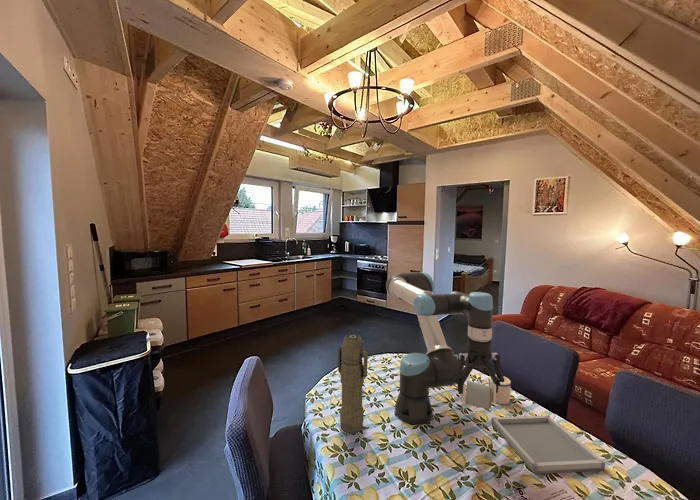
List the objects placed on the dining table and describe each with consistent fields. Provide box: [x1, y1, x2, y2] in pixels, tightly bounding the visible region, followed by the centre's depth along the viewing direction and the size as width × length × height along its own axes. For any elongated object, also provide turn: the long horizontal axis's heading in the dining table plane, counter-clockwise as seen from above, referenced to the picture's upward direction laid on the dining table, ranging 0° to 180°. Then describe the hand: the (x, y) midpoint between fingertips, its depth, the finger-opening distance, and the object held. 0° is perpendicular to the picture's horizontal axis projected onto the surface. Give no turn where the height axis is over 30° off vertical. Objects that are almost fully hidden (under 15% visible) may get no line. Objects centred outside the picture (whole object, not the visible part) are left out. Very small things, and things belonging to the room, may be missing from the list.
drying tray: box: [490, 415, 606, 475], centre depth 99 cm, size 23×23×2 cm
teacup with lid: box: [481, 375, 512, 405], centre depth 127 cm, size 12×9×12 cm
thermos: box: [337, 333, 369, 435], centre depth 107 cm, size 9×12×35 cm
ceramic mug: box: [464, 379, 493, 410], centre depth 99 cm, size 11×8×8 cm
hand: (477, 401), depth 98 cm, fingers closed on ceramic mug, 10 cm apart
